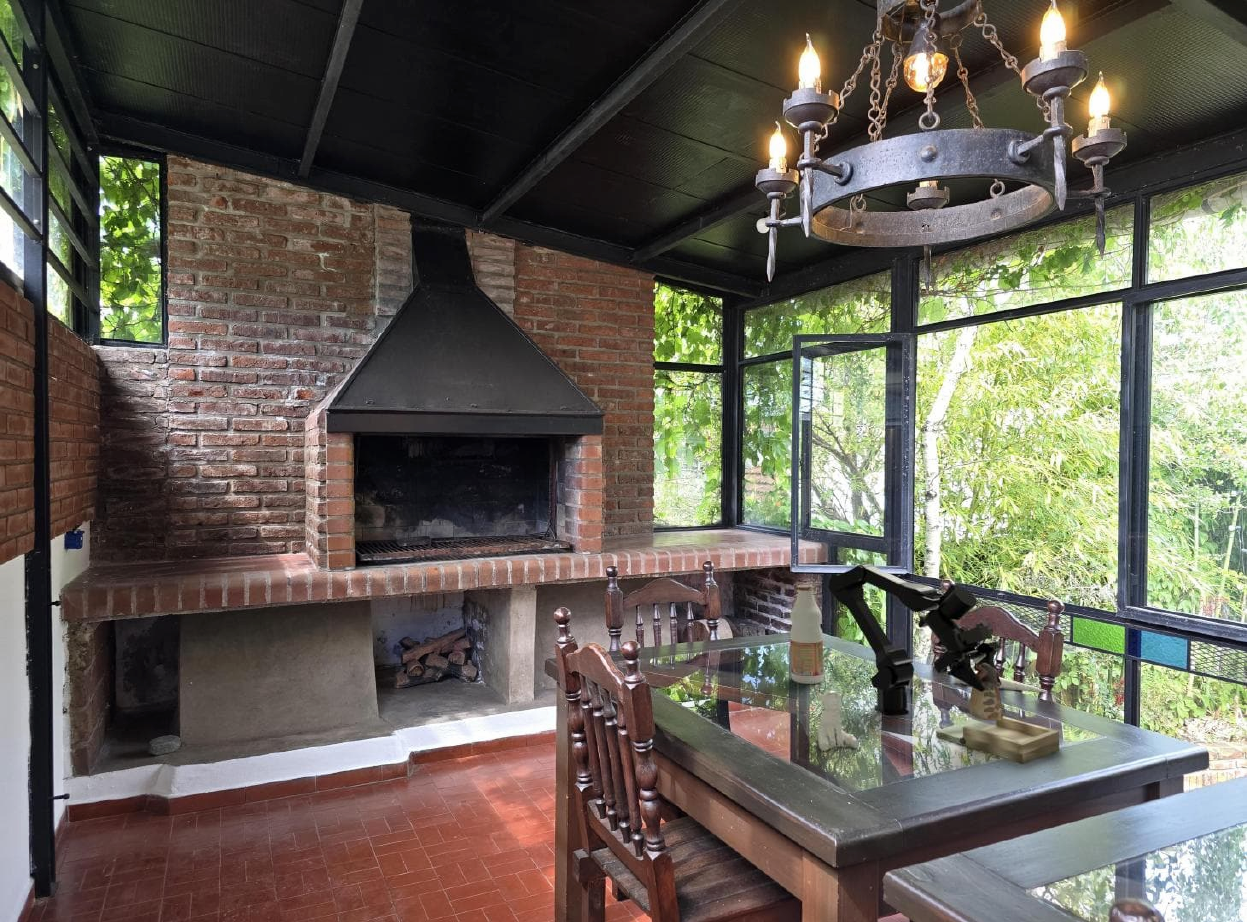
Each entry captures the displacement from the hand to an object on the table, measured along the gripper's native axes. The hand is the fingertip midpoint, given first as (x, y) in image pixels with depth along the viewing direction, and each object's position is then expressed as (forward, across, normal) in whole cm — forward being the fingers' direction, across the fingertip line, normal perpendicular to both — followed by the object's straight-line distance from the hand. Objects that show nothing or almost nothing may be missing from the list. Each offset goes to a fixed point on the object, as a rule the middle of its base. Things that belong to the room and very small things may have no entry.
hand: (991, 688), depth 178 cm
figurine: (+4, 0, +6) cm, 7 cm away
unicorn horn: (-8, +40, +26) cm, 49 cm away
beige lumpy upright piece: (-6, -30, +24) cm, 38 cm away
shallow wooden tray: (+9, 0, +8) cm, 12 cm away
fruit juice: (-34, +4, +52) cm, 63 cm away
